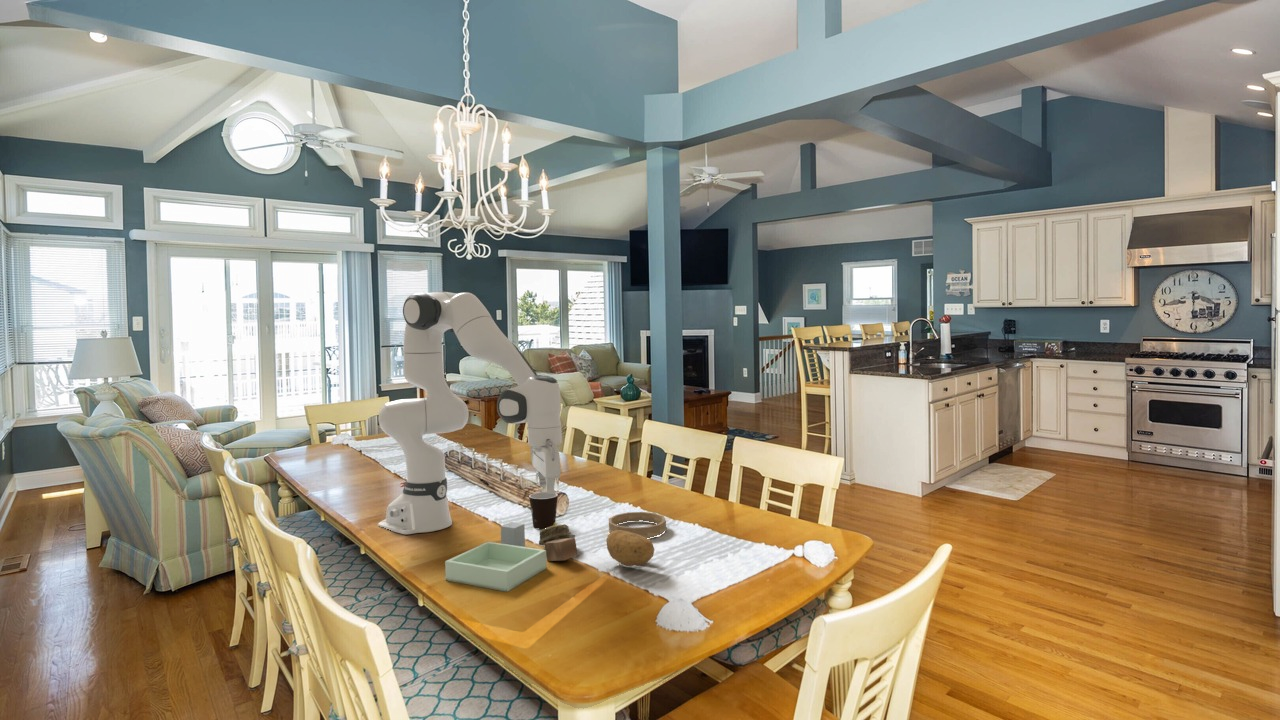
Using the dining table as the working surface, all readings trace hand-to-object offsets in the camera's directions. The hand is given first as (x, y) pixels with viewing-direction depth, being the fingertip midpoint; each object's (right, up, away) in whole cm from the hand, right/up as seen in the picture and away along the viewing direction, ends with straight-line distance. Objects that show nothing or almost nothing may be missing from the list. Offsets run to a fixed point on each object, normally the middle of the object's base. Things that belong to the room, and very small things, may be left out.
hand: (546, 489), depth 168 cm
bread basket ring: (+24, -17, +21) cm, 36 cm away
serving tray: (-10, -18, -12) cm, 24 cm away
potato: (+22, -18, -7) cm, 29 cm away
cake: (+2, -15, +4) cm, 16 cm away
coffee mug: (-4, -17, +27) cm, 32 cm away
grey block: (-10, -18, +5) cm, 21 cm away
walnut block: (+2, -16, -1) cm, 16 cm away
